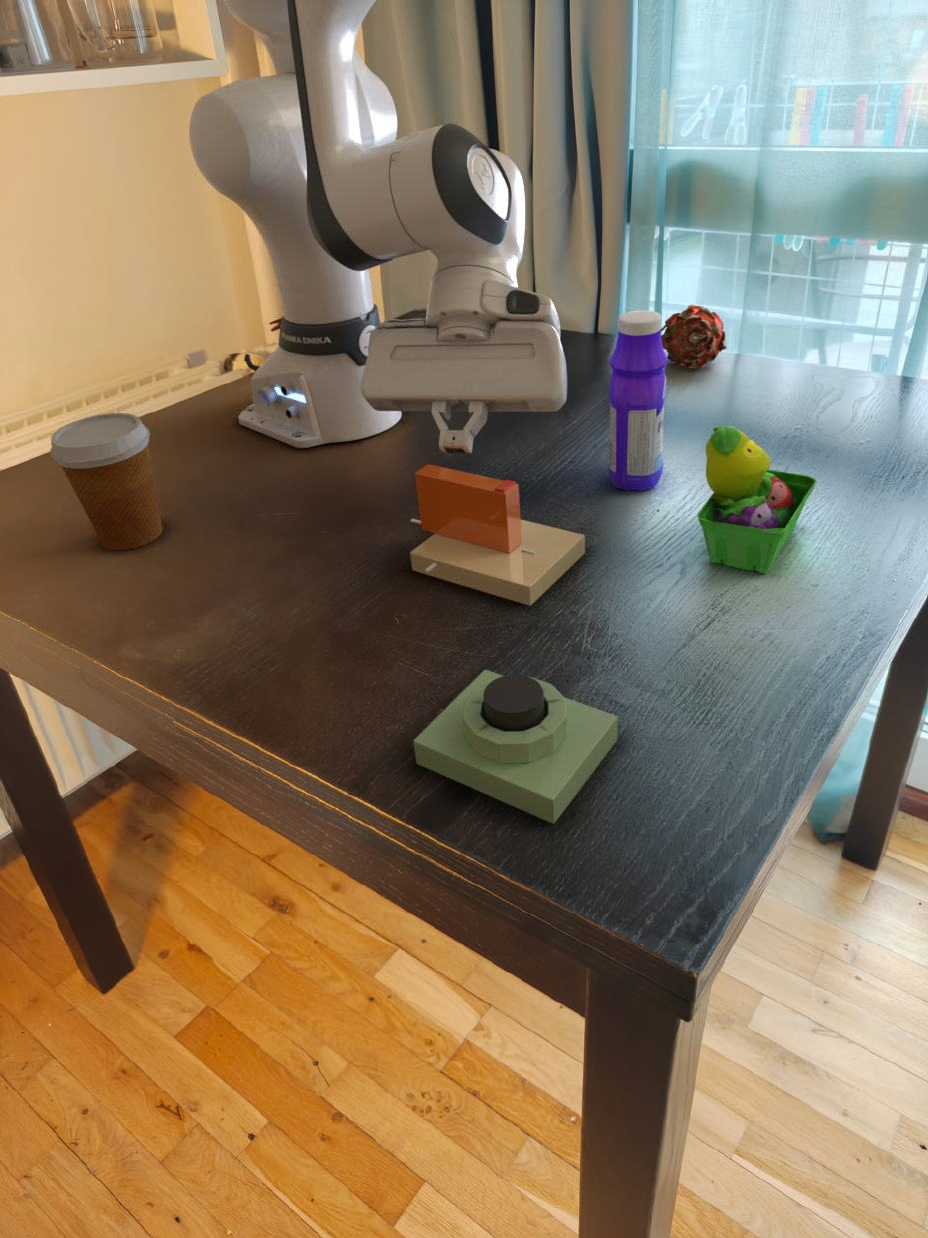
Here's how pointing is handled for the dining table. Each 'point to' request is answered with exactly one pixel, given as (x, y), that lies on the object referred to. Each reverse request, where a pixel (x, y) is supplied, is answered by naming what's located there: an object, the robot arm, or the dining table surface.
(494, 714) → the button
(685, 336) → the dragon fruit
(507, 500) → the orange block
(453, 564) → the beige rectangular board
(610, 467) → the bottle
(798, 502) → the fruit basket
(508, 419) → the dining table surface
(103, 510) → the disposable coffee cup
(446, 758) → the button box
